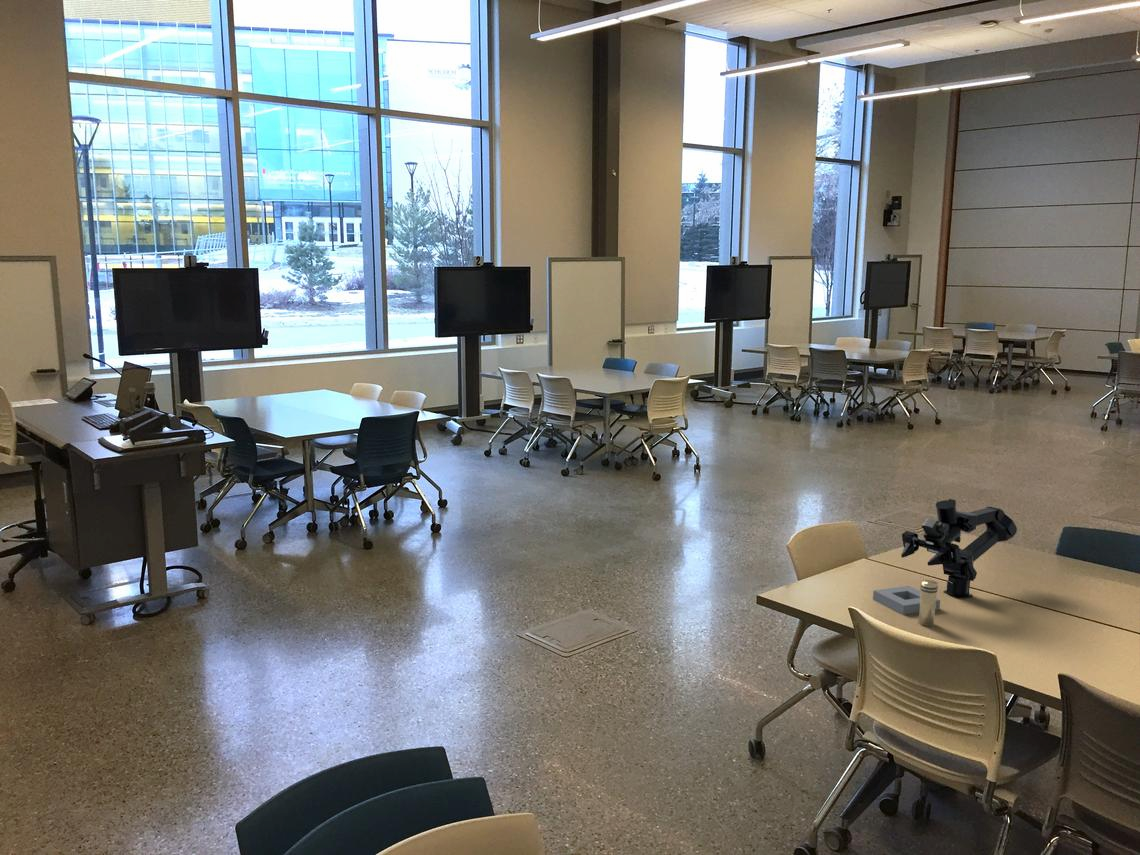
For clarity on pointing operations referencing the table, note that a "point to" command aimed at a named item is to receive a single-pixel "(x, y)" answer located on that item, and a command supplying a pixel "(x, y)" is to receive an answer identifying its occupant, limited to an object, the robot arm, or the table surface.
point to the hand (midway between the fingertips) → (914, 560)
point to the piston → (927, 603)
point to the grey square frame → (901, 599)
